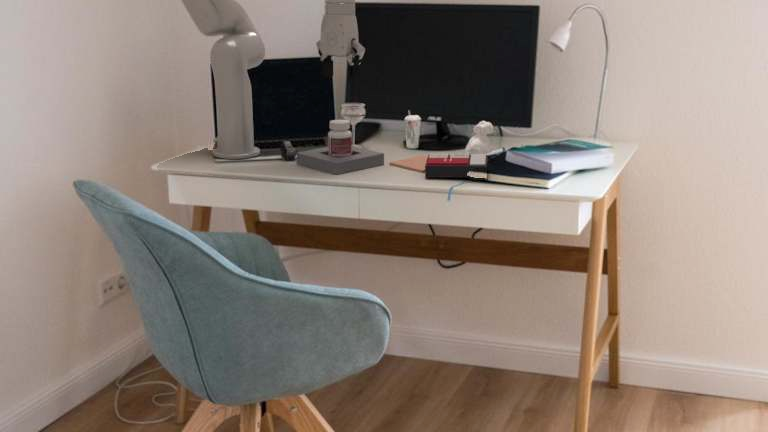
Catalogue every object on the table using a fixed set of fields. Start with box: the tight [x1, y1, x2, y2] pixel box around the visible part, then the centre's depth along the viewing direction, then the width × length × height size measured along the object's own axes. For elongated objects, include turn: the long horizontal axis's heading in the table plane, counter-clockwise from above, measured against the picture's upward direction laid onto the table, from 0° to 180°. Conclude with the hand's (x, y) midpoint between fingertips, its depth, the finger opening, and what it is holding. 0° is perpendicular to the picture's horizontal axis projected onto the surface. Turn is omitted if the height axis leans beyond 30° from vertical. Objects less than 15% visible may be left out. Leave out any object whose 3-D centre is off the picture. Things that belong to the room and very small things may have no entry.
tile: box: [389, 154, 428, 174], centre depth 249 cm, size 12×12×1 cm
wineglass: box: [340, 102, 366, 148], centre depth 268 cm, size 7×7×12 cm
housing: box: [296, 146, 385, 176], centre depth 250 cm, size 16×16×3 cm
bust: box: [464, 120, 494, 155], centre depth 255 cm, size 12×8×11 cm
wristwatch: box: [280, 140, 297, 161], centre depth 256 cm, size 3×5×5 cm
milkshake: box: [404, 110, 422, 149], centre depth 268 cm, size 4×5×10 cm
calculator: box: [424, 152, 489, 181], centre depth 239 cm, size 11×4×15 cm
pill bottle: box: [327, 119, 353, 158], centre depth 248 cm, size 6×6×11 cm
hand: (340, 78), depth 244 cm, fingers open, 9 cm apart
